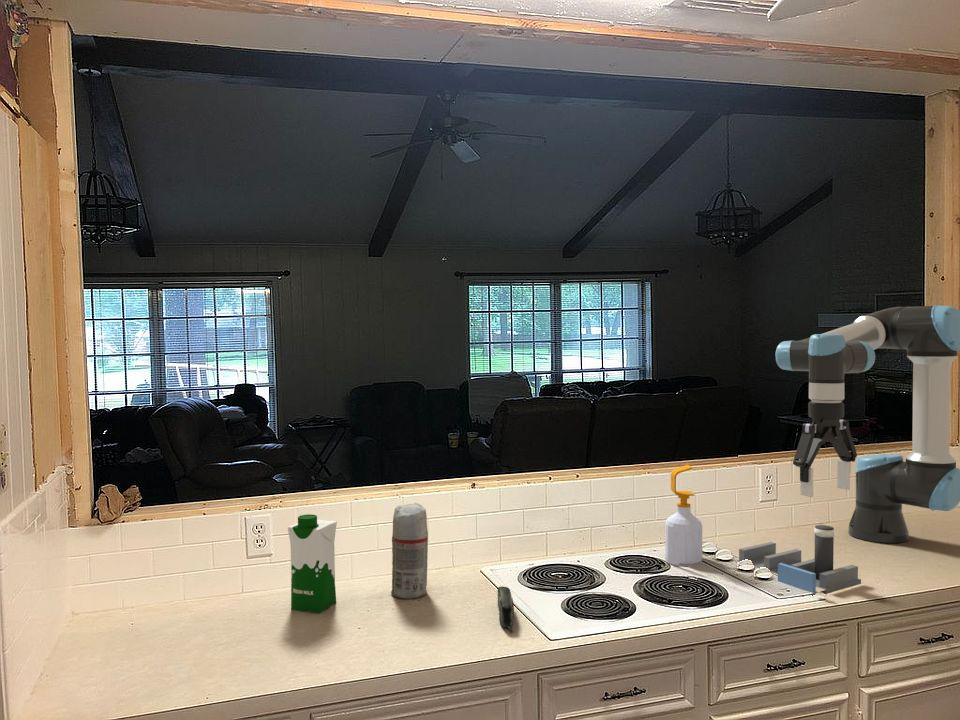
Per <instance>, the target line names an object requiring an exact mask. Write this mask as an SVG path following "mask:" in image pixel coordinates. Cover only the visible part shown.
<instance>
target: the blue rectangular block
mask: <svg viewBox="0 0 960 720" xmlns="http://www.w3.org/2000/svg"><path fill="white" fill-rule="evenodd" d="M777 582H780V583H782V584H785V585H788V586H792V587H794V588H796V589H800V590H803V591H806V592H809V593H811V594H809V595H812V596H813V595H816V592H817V589H816V588H817V587H816V573H812V572H809V571H806V570H803V569H799V568H796V567H793V566H790V565H786V564H783V563H779V564H778V574H777ZM813 597H814V596H813Z"/></svg>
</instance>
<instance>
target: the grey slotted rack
mask: <svg viewBox="0 0 960 720" xmlns="http://www.w3.org/2000/svg"><path fill="white" fill-rule="evenodd" d="M776 549H777V543H776V542H773V541H769V542H765V543H764V542H763V543H760V544H755V545H751V546H747V547H742V548H739V549H738V560H737V559H736V562H738V563H741V562H740V561H742V560H745V559H748V560H751V561H752V563H753V565H754V568H757V569H760V567H766V568H768V569H769V570H770V573H773V574H776V575H778V564H779V563H783V564H786V565H790V566H793V567H796V568H799V569H803V570H806V571H809V572H812V573H814V561H815V558H813V559H808V560H804V561H802V550H801V549H797V548H795V549H790V550H785V551H781V552H777V550H776ZM776 552H777V553H776ZM858 572H859V566H858V565H854V564H849V565H845V566H843V567H839V568H835V569H834V568H833V570H831V571H827V572H823V573H820V574H819V580H817V579H816V588H818V589H822V590H820V591H819V593H822V594H824V595H827V594H831V593H835V592H837V591H841V590H844V589H847V588H851V587H855V586H858V585H861V584H862V579H860V578H859V573H858Z"/></svg>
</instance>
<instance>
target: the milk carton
mask: <svg viewBox="0 0 960 720" xmlns="http://www.w3.org/2000/svg"><path fill="white" fill-rule="evenodd" d="M337 523H338V521H336V520H325V519H318V515H316V514H309V513H308V514H302V515H301V514H300V515H299V516H298V517H297V522H295V523H294V524H291V525H288V526H287V530H288V531H287V532H288V537H289V542H290V543H289V544H290V578H291V579H290V583H291V584H290V587H291V588H290V592H291V593H290V595H291V597H290V610H292V611H298V612H307V613H312V614H313V613H314V614H321V613H322V612H324V611H326V610H327V609H328V608H330V607H331V606H333V605H334V604H336V603H337V593H336V568H335V567H336V566H335V565H336V564H335V558H336V557H335V540H336V539H335V537H336V532H337V531H336V530H337Z"/></svg>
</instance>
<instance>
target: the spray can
mask: <svg viewBox="0 0 960 720" xmlns="http://www.w3.org/2000/svg"><path fill="white" fill-rule="evenodd" d="M393 511H394V512H393V517H392V534H391V535H392V537H391V545H392V546H391V551H392V552H391V553H392V557H391V559H392V561H391V566H392V568H391V569H392V572H391V592H390V595H392V596H394V597H396V598H399V599H408V600H410V599H417V598H421V597H424V596H425V595H426V594H427V593H428V591H427V584H428V554H429V553H428V552H429V550H428V546H429V545H428V543H429V531H428V519H427V518H428V517H427V516H428V515H427V510H426V508H425V507H424V506H423V505H422V504H420V503H418V502H413V503H406V504H402V505H401V504H399V505H397V506H396V507H395V508H394V510H393Z"/></svg>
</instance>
